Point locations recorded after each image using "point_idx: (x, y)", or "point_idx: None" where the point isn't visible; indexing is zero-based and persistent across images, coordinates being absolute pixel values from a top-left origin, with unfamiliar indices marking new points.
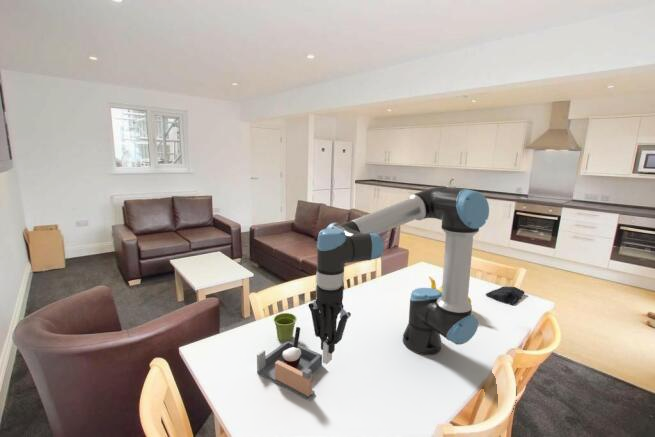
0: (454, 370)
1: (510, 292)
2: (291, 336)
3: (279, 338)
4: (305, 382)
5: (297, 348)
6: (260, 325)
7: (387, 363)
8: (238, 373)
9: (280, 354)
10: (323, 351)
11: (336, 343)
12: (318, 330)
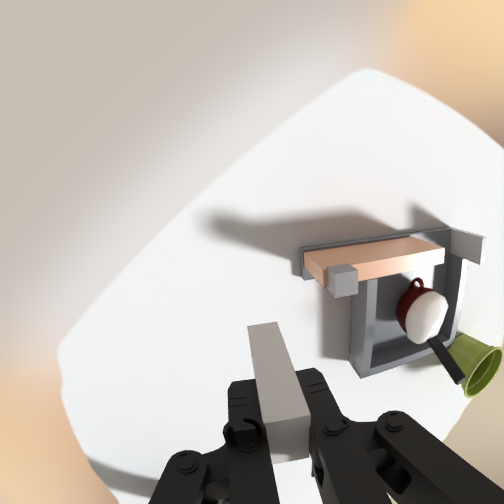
0: (127, 474)
1: None
2: None
3: (465, 336)
4: (330, 262)
5: (425, 338)
6: (499, 329)
7: None
8: (470, 197)
9: None
10: (287, 364)
11: (173, 458)
12: (401, 462)
